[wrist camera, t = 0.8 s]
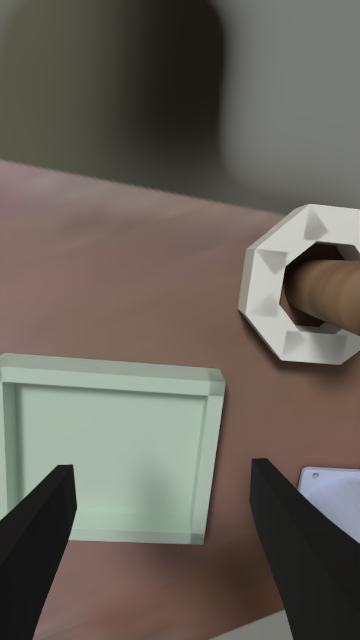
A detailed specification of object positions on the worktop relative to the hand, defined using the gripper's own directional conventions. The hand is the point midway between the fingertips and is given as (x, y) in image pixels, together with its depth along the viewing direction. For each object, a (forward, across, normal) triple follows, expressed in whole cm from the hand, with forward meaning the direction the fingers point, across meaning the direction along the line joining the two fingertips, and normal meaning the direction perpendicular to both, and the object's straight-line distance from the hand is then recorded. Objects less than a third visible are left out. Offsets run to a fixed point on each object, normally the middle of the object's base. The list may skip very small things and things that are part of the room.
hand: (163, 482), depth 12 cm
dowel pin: (+10, -10, -7) cm, 16 cm away
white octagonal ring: (+10, -10, -7) cm, 15 cm away
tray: (+10, +4, +5) cm, 12 cm away
